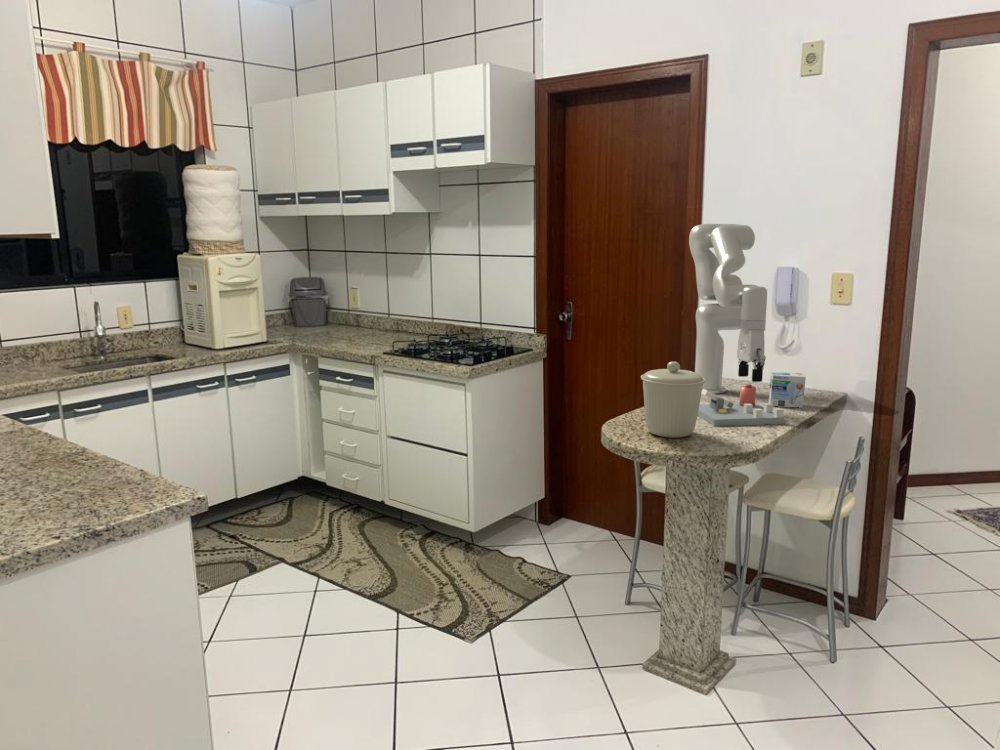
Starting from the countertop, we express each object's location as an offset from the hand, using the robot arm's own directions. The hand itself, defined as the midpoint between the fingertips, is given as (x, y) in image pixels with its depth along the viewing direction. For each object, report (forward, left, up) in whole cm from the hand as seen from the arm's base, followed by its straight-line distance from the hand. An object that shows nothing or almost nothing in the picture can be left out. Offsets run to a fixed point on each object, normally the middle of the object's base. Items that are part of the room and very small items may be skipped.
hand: (749, 378), depth 245 cm
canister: (+22, -34, -11) cm, 42 cm away
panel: (+6, -7, -11) cm, 14 cm away
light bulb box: (-8, +17, -11) cm, 22 cm away
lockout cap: (-1, 0, -9) cm, 9 cm away
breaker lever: (+3, -12, -5) cm, 14 cm away
